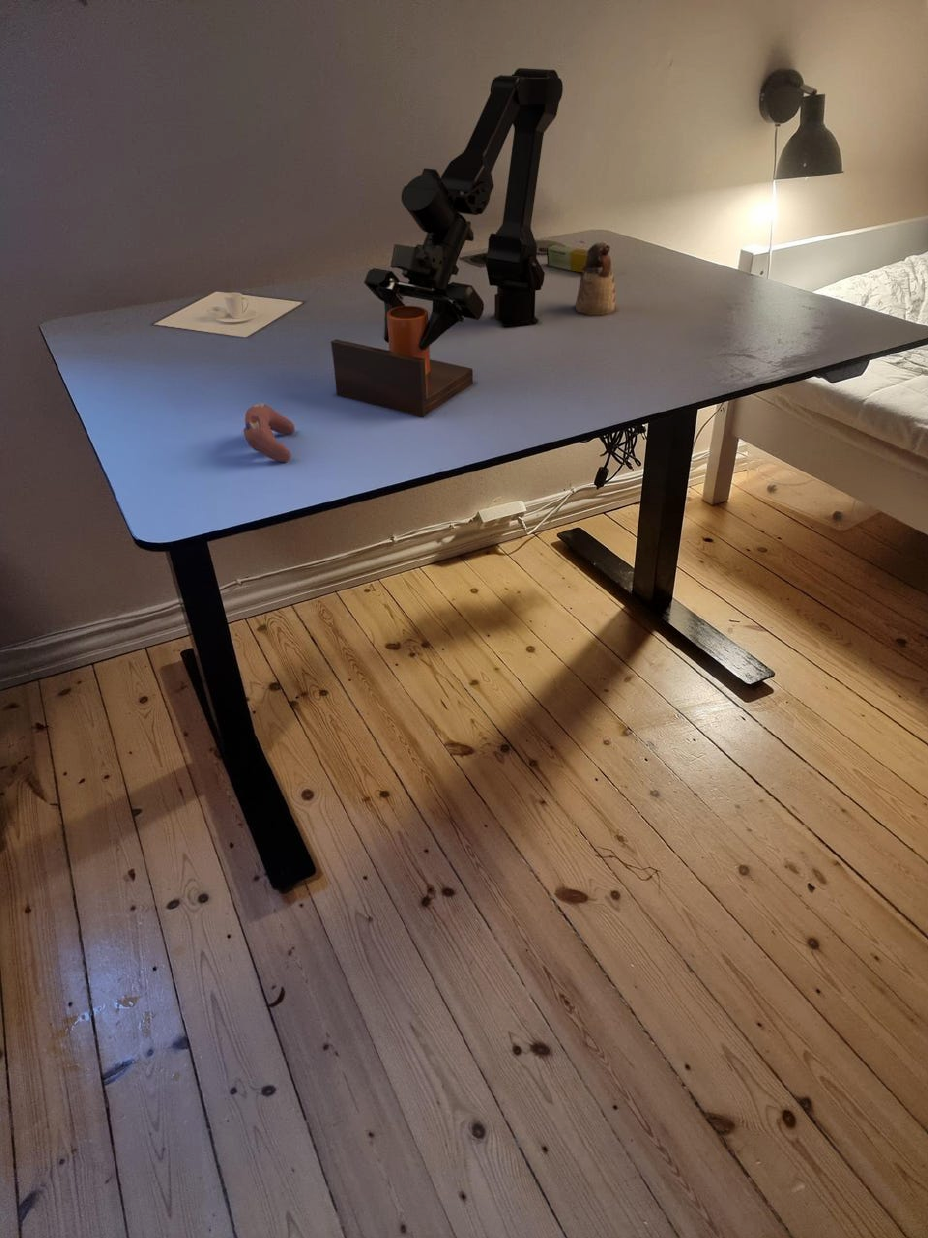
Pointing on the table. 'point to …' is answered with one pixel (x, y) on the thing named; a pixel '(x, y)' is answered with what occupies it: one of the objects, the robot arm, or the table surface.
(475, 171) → the robot arm
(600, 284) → the figurine
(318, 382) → the table surface
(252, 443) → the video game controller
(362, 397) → the dark brown wooden piece
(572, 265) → the medication box
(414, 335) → the cup
